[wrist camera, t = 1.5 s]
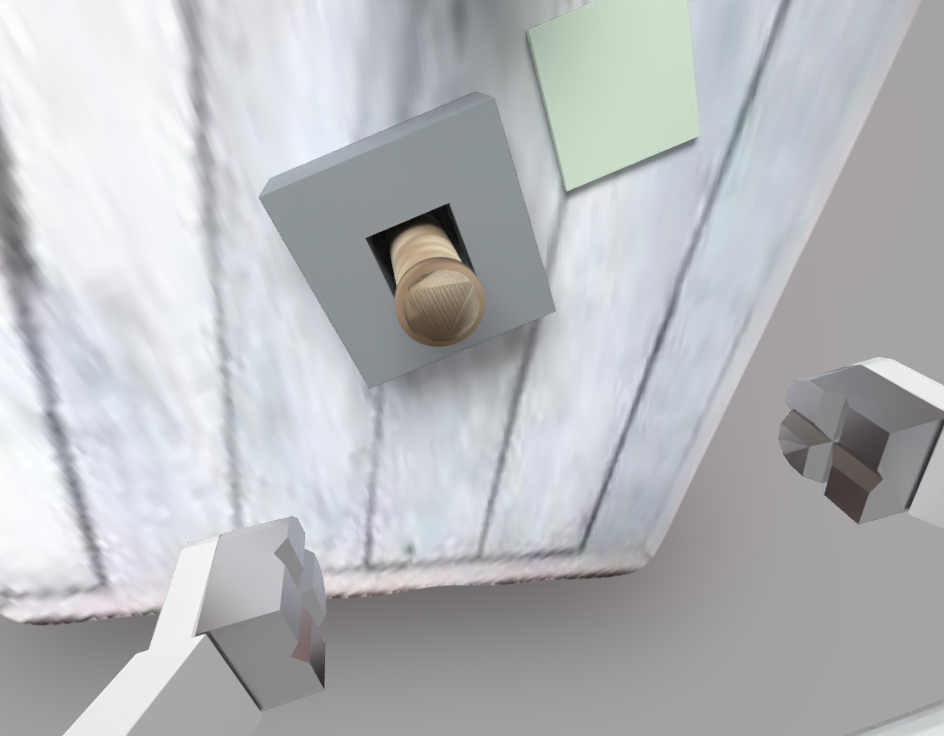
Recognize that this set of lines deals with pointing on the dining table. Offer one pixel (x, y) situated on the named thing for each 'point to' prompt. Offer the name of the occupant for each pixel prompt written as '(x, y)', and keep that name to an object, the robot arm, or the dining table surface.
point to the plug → (433, 284)
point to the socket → (400, 199)
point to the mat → (616, 84)
